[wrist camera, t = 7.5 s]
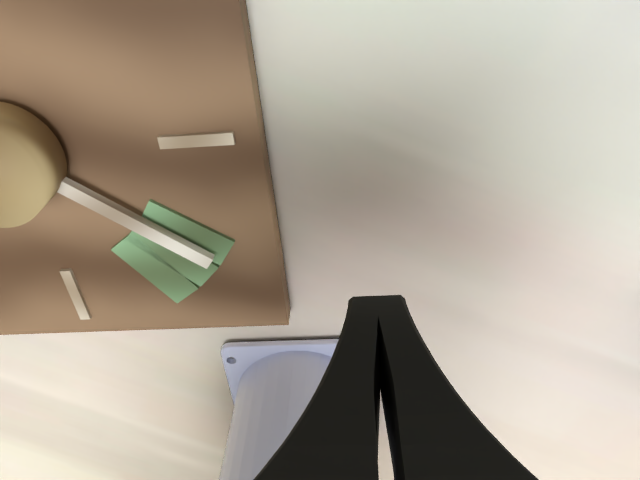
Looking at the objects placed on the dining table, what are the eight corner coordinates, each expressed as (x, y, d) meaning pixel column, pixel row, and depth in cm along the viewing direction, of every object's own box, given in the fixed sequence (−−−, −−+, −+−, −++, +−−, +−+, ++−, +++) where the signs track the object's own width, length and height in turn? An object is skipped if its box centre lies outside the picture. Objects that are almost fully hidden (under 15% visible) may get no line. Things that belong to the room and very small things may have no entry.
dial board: (290, 308, 28) (288, 327, 26) (-77, 322, 29) (-95, 340, 28) (218, -186, 17) (208, -191, 15) (-370, -123, 18) (-419, -123, 17)
